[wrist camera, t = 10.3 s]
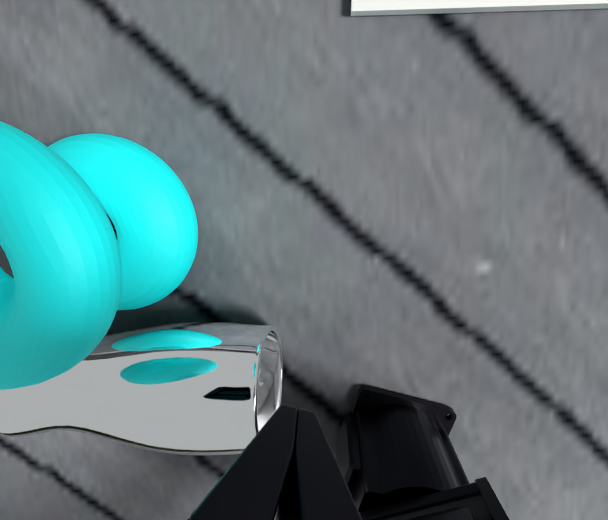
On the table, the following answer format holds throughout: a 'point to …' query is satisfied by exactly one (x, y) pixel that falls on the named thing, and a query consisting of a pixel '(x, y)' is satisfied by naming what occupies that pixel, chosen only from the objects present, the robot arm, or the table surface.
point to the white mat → (466, 6)
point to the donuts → (82, 245)
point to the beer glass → (161, 389)
